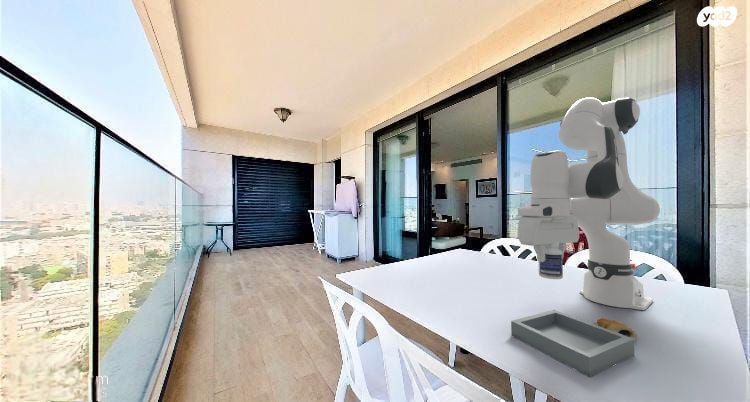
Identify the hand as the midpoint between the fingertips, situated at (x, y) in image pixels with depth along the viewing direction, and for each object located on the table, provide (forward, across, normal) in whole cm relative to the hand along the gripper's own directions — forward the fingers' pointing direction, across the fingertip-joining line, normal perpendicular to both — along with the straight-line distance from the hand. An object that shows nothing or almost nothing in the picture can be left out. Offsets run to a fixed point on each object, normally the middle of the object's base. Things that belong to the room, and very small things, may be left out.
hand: (550, 260), depth 69 cm
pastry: (+20, -17, +6) cm, 27 cm away
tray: (+20, +1, +5) cm, 21 cm away
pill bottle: (+5, 0, 0) cm, 5 cm away
